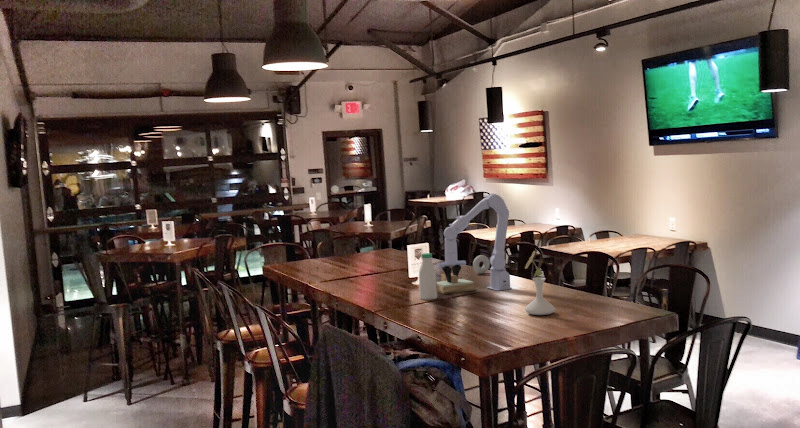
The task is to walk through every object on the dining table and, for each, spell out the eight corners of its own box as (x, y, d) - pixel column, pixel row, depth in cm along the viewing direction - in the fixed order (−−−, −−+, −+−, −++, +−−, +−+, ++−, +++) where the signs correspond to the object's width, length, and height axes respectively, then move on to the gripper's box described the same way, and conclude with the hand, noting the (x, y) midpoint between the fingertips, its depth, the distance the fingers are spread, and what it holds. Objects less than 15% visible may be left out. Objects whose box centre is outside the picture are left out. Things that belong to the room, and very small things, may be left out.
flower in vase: (534, 309, 270) (532, 247, 268) (560, 312, 263) (558, 248, 261) (517, 316, 260) (515, 251, 258) (544, 319, 253) (542, 252, 251)
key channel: (462, 286, 326) (461, 276, 325) (453, 287, 324) (453, 277, 323) (449, 282, 337) (448, 273, 337) (441, 283, 336) (440, 274, 335)
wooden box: (474, 289, 316) (474, 283, 315) (443, 294, 309) (443, 287, 309) (462, 286, 326) (462, 280, 325) (432, 290, 319) (432, 284, 319)
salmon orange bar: (457, 278, 327) (457, 274, 327) (453, 278, 326) (453, 275, 326) (447, 275, 336) (447, 272, 336) (443, 275, 335) (443, 272, 335)
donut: (475, 275, 356) (474, 256, 355) (471, 274, 359) (471, 255, 358) (491, 273, 360) (490, 254, 359) (487, 272, 363) (487, 253, 362)
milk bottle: (435, 300, 296) (434, 254, 295) (418, 300, 298) (416, 255, 297) (438, 296, 304) (436, 252, 303) (421, 296, 306) (419, 252, 304)
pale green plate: (473, 283, 316) (472, 274, 315) (443, 287, 309) (443, 278, 309) (462, 280, 325) (461, 272, 325) (433, 284, 319) (433, 275, 319)
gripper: (460, 250, 323) (461, 278, 324) (433, 253, 317) (434, 282, 318) (467, 252, 316) (469, 280, 317) (440, 255, 310) (441, 284, 311)
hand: (452, 281), depth 317 cm, fingers closed on pale green plate, 3 cm apart
